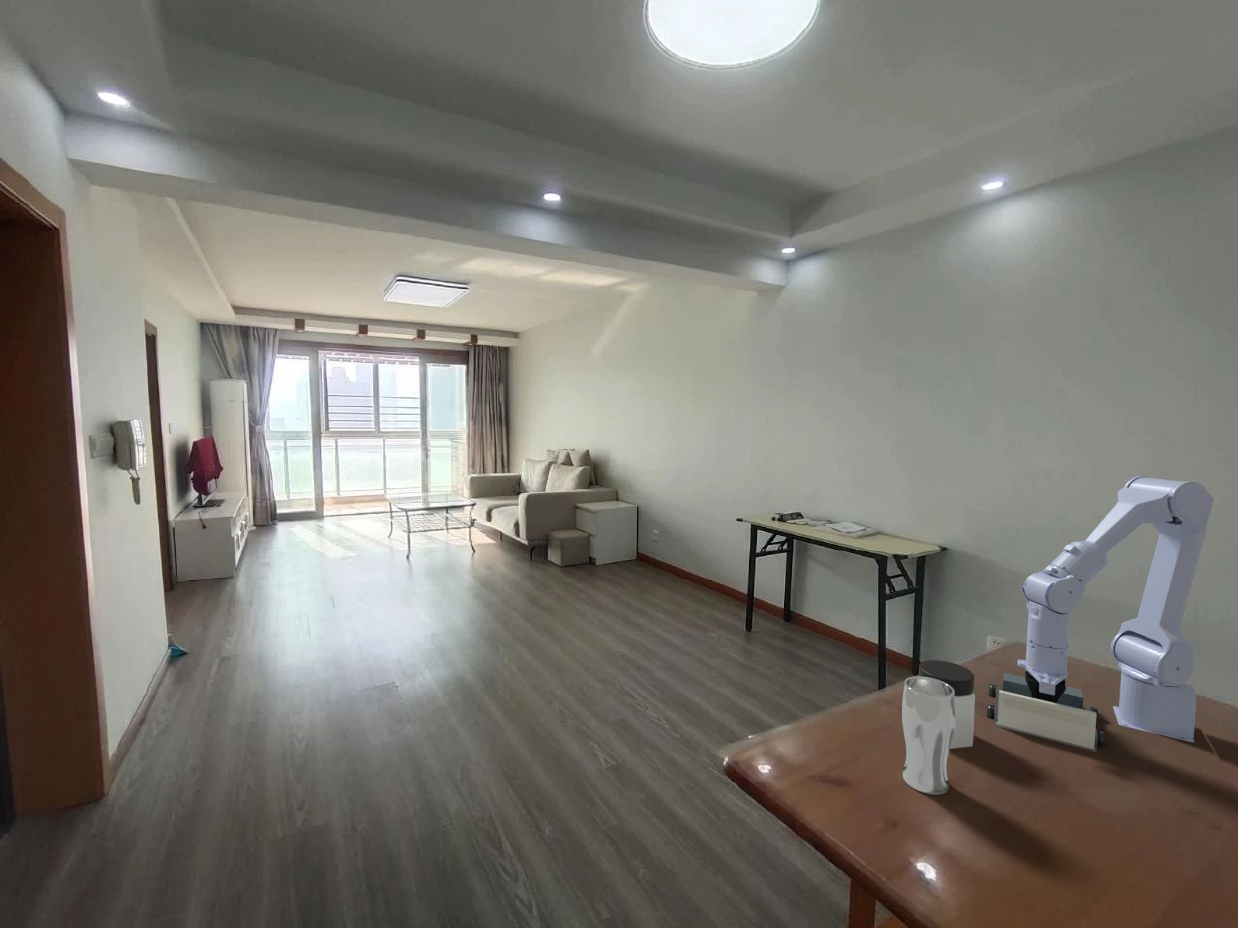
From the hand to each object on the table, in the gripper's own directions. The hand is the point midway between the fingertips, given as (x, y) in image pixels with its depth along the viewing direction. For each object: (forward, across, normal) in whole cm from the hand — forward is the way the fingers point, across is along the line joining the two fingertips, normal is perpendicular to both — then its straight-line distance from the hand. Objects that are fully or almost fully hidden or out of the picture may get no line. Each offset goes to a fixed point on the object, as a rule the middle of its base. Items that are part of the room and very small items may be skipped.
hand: (1042, 716), depth 98 cm
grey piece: (+2, -4, 0) cm, 4 cm away
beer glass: (+2, +29, -15) cm, 32 cm away
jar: (+2, +14, -14) cm, 20 cm away
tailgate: (+1, +5, 0) cm, 5 cm away
